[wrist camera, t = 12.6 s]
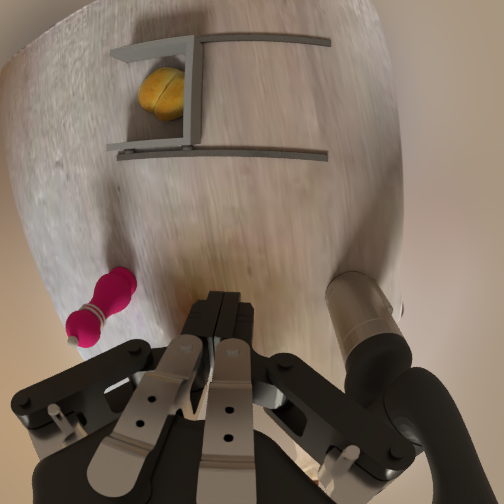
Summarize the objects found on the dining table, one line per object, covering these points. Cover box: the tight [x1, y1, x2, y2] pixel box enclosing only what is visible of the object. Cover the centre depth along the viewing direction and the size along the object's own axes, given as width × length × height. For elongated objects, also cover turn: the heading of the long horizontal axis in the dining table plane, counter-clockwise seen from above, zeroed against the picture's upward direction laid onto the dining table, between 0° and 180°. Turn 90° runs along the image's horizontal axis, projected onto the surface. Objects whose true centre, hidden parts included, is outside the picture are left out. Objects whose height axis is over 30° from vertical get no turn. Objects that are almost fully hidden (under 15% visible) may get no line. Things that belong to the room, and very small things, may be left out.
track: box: [117, 35, 331, 162], centre depth 38 cm, size 34×20×1 cm, turn 89°
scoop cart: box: [106, 35, 204, 154], centre depth 35 cm, size 13×18×6 cm
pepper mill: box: [66, 267, 137, 348], centre depth 42 cm, size 7×7×20 cm
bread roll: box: [138, 67, 185, 121], centre depth 36 cm, size 8×9×4 cm
